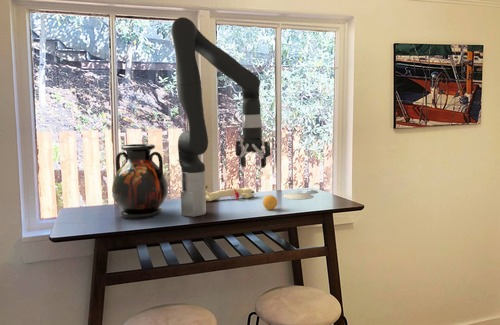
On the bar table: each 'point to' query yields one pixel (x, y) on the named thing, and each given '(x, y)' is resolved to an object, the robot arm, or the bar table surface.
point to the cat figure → (229, 193)
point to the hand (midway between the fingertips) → (253, 167)
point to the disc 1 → (298, 196)
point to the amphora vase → (139, 182)
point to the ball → (270, 202)
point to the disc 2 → (308, 192)
